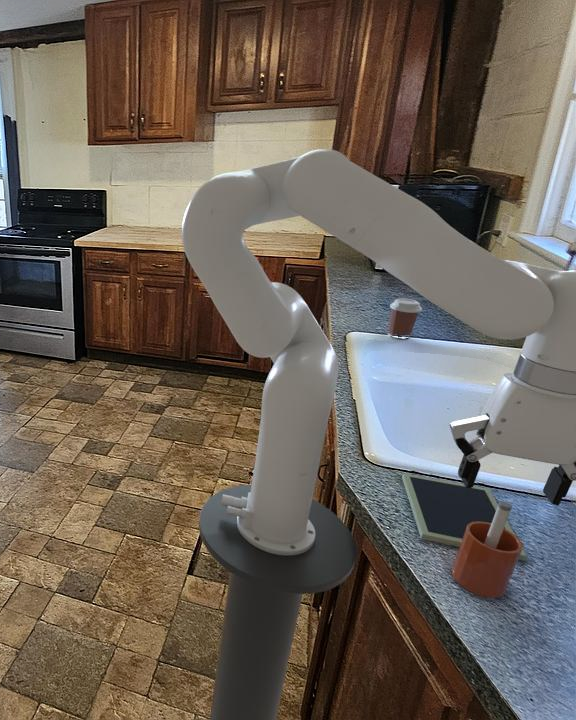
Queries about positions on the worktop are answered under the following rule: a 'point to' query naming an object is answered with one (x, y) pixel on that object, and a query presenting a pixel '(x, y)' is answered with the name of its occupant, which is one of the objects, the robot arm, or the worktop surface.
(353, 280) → the worktop surface
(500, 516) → the stylus
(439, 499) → the tablet
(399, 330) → the coffee cup
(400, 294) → the worktop surface
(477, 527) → the pen cup
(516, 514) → the worktop surface
